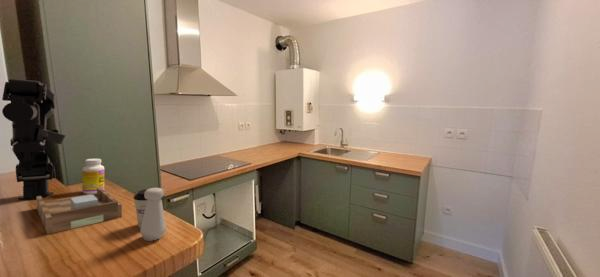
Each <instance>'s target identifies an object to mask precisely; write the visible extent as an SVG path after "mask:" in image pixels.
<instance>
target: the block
mask: <svg viewBox="0 0 600 277" xmlns="http://www.w3.org/2000/svg"><path fill="white" fill-rule="evenodd" d="M86 195H87V196H82V195H80V196H81V197H75V196H74V197H75V198H71V210H72V209H77V208H82V207H88V206H93V205H98V199H97V198H96V197H95V196H94V195H88V194H86Z"/></svg>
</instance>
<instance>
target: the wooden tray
mask: <svg viewBox="0 0 600 277" xmlns="http://www.w3.org/2000/svg"><path fill="white" fill-rule="evenodd" d="M87 195H94V196H95V197H96V198H97V199H98V205H93V206H88V207H82V208H77V209H72V210H71V198H75V197H81V196H87ZM35 200H36V211H37V213H38V216H39V218H40V220H41V223H42V225H43V227H44V229H45V232H46V235H49V234H55V233H58V232H62V231H63V232H64V231H67V230H71V229H72V230H73V229H77V228H79V227H80V228H81V227H85V226H89V225H93V224H98V223H102V222H106V221H111V220H115V219H119V218H123V217H122V216H123V214H122V213H123V211H122V210H123V208H122V207H123V206H122V205H123V204H122V203H121V202H119V201H118V200H117V199H116V198H115V197H113V196H112V195H110V194H109V193H108V192H107V191H106V190H105V189H104V190H103V189H102V188H101V187H98V188H97V193H94V194H82V195H76V196H75V195H74V196H70V197H64V198H63V197H62V198H57V199H51V200H45V201H44V198H42V197H41V196H36V199H35Z"/></svg>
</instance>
